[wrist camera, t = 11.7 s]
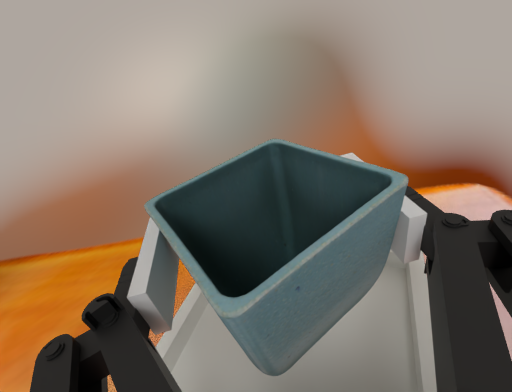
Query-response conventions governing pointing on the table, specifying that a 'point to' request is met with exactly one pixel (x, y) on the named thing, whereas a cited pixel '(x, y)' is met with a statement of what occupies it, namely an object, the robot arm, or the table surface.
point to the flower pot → (282, 242)
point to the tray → (317, 344)
